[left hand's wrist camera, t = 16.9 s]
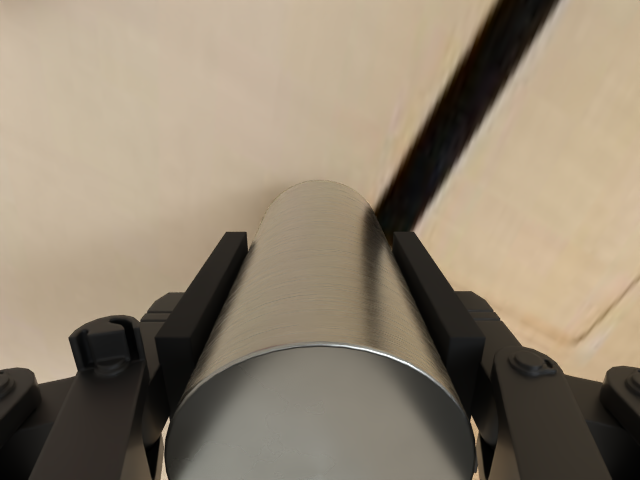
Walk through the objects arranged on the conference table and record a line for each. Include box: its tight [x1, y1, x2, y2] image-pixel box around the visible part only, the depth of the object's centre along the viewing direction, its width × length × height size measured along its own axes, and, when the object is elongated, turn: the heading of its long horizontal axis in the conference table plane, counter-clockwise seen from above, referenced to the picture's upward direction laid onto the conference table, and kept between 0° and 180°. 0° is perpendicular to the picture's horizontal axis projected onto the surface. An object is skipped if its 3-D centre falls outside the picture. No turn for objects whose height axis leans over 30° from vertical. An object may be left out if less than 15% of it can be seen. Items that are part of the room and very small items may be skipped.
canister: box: [164, 180, 476, 480], centre depth 12 cm, size 6×6×12 cm
